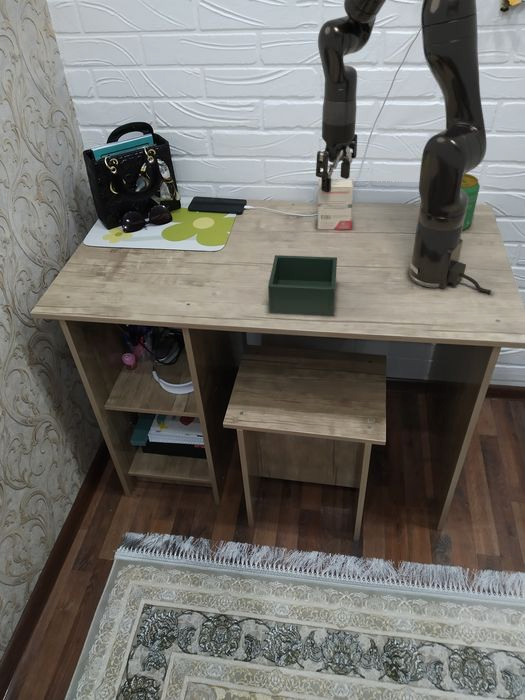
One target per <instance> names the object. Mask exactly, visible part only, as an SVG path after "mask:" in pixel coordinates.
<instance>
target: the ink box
mask: <svg viewBox="0 0 525 700" xmlns="http://www.w3.org/2000/svg"><path fill="white" fill-rule="evenodd" d="M321 183H322V178H320V179H318V187H317V230H352V224H353V223H352V222H353V203H354V180H353V179H352V178H348V179H345V178H331V191H330V192H328V193H327V192H324V191H322V189H321Z"/></svg>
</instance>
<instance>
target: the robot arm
mask: <svg viewBox="0 0 525 700" xmlns="http://www.w3.org/2000/svg"><path fill="white" fill-rule="evenodd" d="M386 1H387V0H343V9H344V12H345V14H346V15H345V16H340V17H337V18H333V19H329V20H327V21H324V23H323V24H322V26H321V27H320V29H319V31H318V36H317V48H318V53H319V58H320V62H321V67H322V72H323V75H324V76H323V77H324V84H323V85H324V89H323V103H322V113H321V116H322V117H321V138H322V140H323V141H324V142H325V148H324V150H323V151H321V150H318V151H317V152H316V161H315V162H316V164H315V176H316V177H317V178H320V179H322V183H321V189H322V191H324V192H327V193H328V192H330V191H331V179H332V176H333V173H334V170H336V169H337V168H338V164H339V163H340V177H341V179H350V176H351V164H352V163H353V159H356V158H357V155H358V153H357V152H358V134H356V120H357V89H358V72H357V70H356V68H355V67H353V66H351V65H345V62H344V57H345V56H349V55H353V54H355V53H357V52H359V51H361V50H363V49H364V47H365V46H366V45H367V43H368V42H369V40H370V38H371V35H372V32H373V29H374V27H375V23H376V19H377V15H378V14H379V12H380V11H381V9H382V8H383V6H384V5H385V3H386ZM477 12H478V11H477V0H422V3H421V10H420V26H421V27H420V30H421V41H422V42H421V43H422V50H423V57H424V60H425V63H426V65H427V67H428V69H429V71H430V73H431V75H432V77H433V79H434V80H435V82H436V83H437V85H438V87H439V89H440V92H441V94H442V98H443V102H444V109H445V110H444V112H445V129H443V130H441V131H440V132H438V133H436V134H433V136H431V137H430V138H429V139H428V140H427V142H426V143H425V145H424V147H423V150H422V155H421V159H420V170H419V179H418V180H419V181H418V193H419V194H418V195H419V198H420V204H419V211H418V216H417V223H416V230H415V236H414V243H413V249H412V255H411V261H410V263H409V273H408V276H409V278H410V280H411V281H412V282H413V283H415V284H416V285H417V286H420V287H424V288H430V289H438V288H439V289H442V290H445V289H446V287H448V285H449V284H450V283H451V284H453V285H458V283H459V281H460V280H461V279H462V278H463V279H464V280H467V281H469V282H470V283H472V284H473V285H474V286H475V288H476V290H478V292H481V293H485V294H490V295H491V293H492V289H487V288H484V287H481V285H480V284H479V283H478V281H477V280H476V279H474V278H472V277H471V276H469V275H467V274H465V272H466V268H467V264H466V263H463V262H461V261H459V260H460V256H461V251H462V247H463V242H464V240H463V239H462V237H461V236H462V232H463V231H462V228H463V223H464V219H465V214H466V210H467V205H468V195H467V194H466V192H465V191H463V190H462V189H461V184H462V178H463V175H464V174H469V172H471V171H473V170H475V169H476V168H477V167H479V166H480V164H481V163H482V162H483V161H484V159H485V156H486V154H487V153H486V152H487V147H488V146H487V145H488V144H487V132H486V125H485V119H484V113H483V106H482V98H481V97H482V96H481V87H480V66H479V65H480V64H479V47H478V46H479V44H478V43H479V37H478V35H479V34H478V13H477ZM351 150H352V151H351Z"/></svg>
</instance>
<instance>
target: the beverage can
mask: <svg viewBox="0 0 525 700" xmlns="http://www.w3.org/2000/svg"><path fill="white" fill-rule="evenodd" d="M480 187H481V185H480V183H479V179H478V178H477V177H476V176H474V175H472V174H469V173H466V174H464V175H463V178H462V184H461V189H462V190H463V191H465V192H466V194H467V195H468V205H467V210H466V214H465V219H464V223H463V228H462V232H463V231H464V232H465V231H466V230H467V229H468V228H469V227H470V226H471V225H472V224H473V223H472V222H473V220H474V219H473V217H474V213H475V210H476V204H477V200H478V196H479V192H480Z"/></svg>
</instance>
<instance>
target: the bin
mask: <svg viewBox="0 0 525 700" xmlns="http://www.w3.org/2000/svg"><path fill="white" fill-rule="evenodd" d="M273 257H274V258H273V263H272V266H271V267H272V268H271V271H270V276H269V280H268V284H267V292H268V313H270V314H288V315H306V316H326V317H335V316H334V313H335V302H336V301H335V300H336V289H337V269H338V257H333V256H311V255H310V256H309V255H284V254H283V255H280V254H279V255H278V254H275V255H274V256H273Z"/></svg>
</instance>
